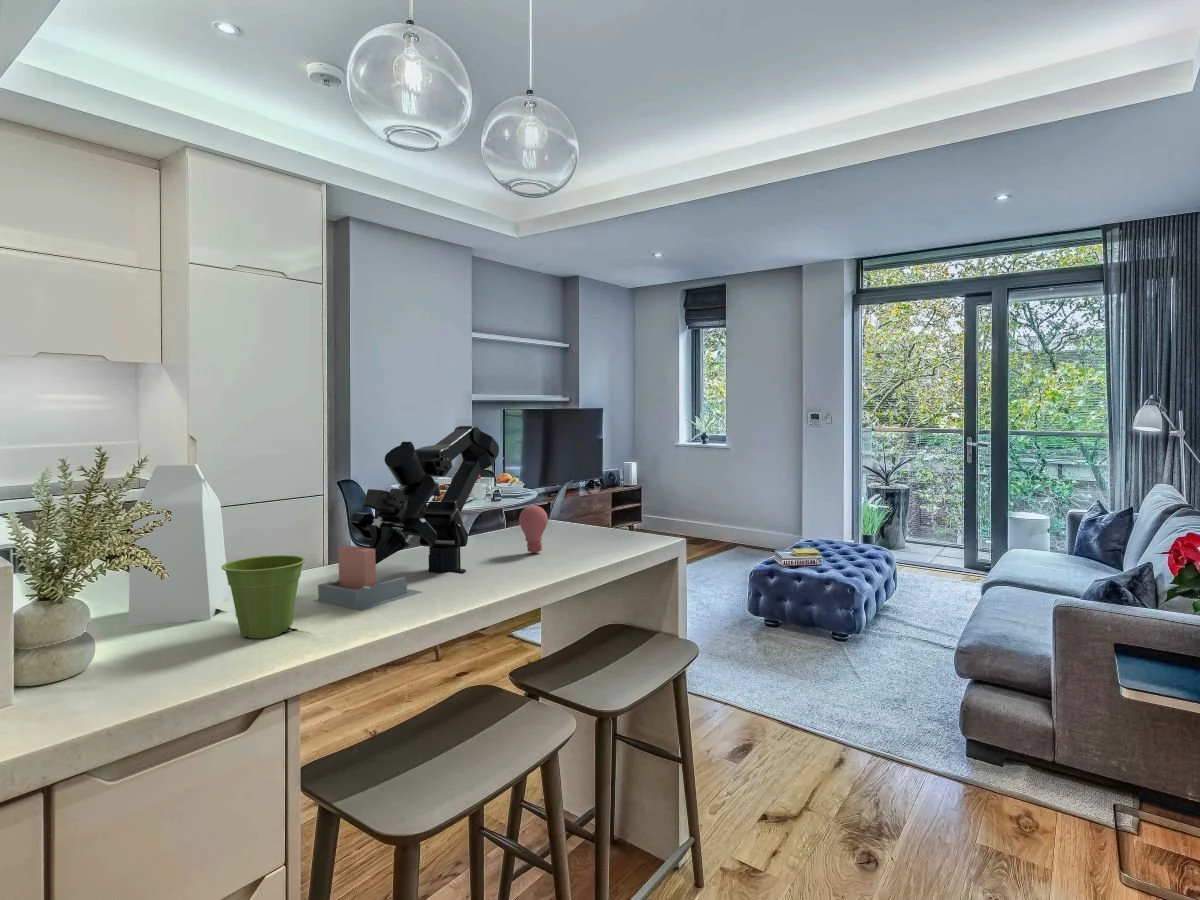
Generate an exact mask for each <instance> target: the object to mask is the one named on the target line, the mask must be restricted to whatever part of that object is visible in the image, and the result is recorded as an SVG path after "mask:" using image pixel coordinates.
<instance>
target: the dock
mask: <svg viewBox="0 0 1200 900" xmlns="http://www.w3.org/2000/svg"><path fill="white" fill-rule="evenodd" d="M407 587H408V582H407V577H403V576H402V577H397V578H394V579H390V580H387V581H383V582H379V583H377V582H376V584H375V585H372V586H368V587H367V586H363V588H361V589H357V590H354V589H348V588H343V587H339V579H337V580H334V579H333V580H332V579H330V581H328V582H324V583H321V584H320V583H319V584H318V585H317V593H318V594H317V596H318V597H317V599H313V602H318V603H324V604H328V605H332V606H337V607H342V608H347V609H351V610H355V611H361V612H363V611H366V610H370V609H372V608H376V607H379V606H381V605H386V604H389V603H391V602H395V601H398V600H401V599H404V598H408V597H411V596H415V595H417V594H421V593H423V591H420V590H417V589H415V590H414V589H411V588H407Z"/></svg>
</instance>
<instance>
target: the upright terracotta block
mask: <svg viewBox="0 0 1200 900" xmlns="http://www.w3.org/2000/svg"><path fill="white" fill-rule="evenodd" d="M337 550H338V580H339V587H343V588H348V589H354V590H357V589H361V588H363V586H367V587H368V586H372V585H375V584H376V583H377V571H376V570H377V564H376V559H375V549H371V548H369V547H365V546H364V547H363V546H356V545H355V546H354V545H343V546H340V547H337Z"/></svg>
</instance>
